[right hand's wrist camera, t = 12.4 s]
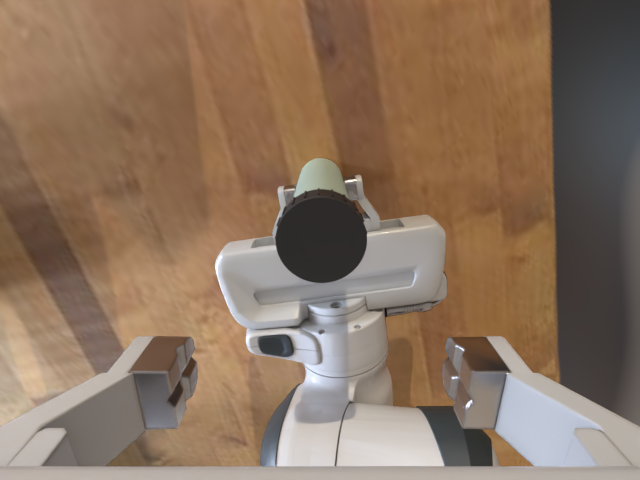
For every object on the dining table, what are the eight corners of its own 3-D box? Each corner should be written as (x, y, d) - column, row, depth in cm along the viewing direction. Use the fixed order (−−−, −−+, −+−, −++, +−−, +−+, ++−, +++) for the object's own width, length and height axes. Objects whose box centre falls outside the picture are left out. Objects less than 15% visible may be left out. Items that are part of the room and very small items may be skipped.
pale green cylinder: (294, 192, 37) (273, 261, 20) (307, 152, 36) (295, 191, 19) (333, 205, 37) (344, 282, 21) (347, 165, 36) (370, 215, 20)
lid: (267, 255, 22) (263, 269, 20) (292, 175, 20) (289, 182, 18) (347, 279, 23) (349, 295, 21) (376, 203, 21) (382, 212, 19)
